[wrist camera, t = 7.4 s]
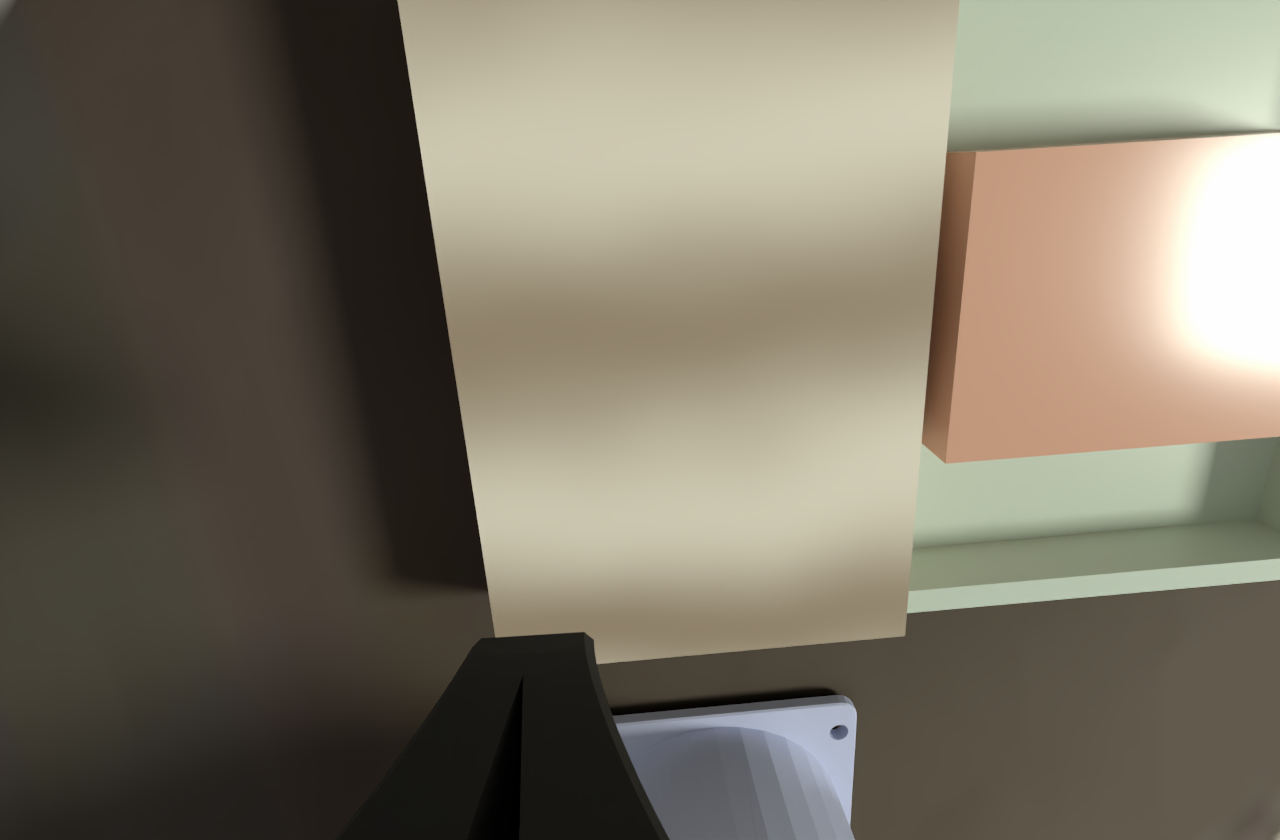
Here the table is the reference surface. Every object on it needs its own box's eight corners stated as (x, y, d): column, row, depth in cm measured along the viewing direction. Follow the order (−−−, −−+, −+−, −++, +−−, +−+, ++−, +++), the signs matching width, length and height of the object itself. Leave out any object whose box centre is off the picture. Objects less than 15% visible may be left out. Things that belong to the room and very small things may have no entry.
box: (1259, 529, 19) (1338, 574, 17) (857, 564, 19) (890, 614, 17) (1427, -84, 14) (1568, -125, 12) (892, -57, 14) (945, -95, 12)
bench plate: (857, 564, 19) (904, 636, 16) (514, 594, 18) (500, 673, 16) (892, -57, 14) (969, -113, 11) (427, -34, 14) (384, -85, 11)
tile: (1219, 396, 17) (1317, 433, 15) (896, 421, 17) (945, 463, 15) (1282, 130, 15) (1408, 124, 13) (915, 153, 15) (976, 152, 13)
